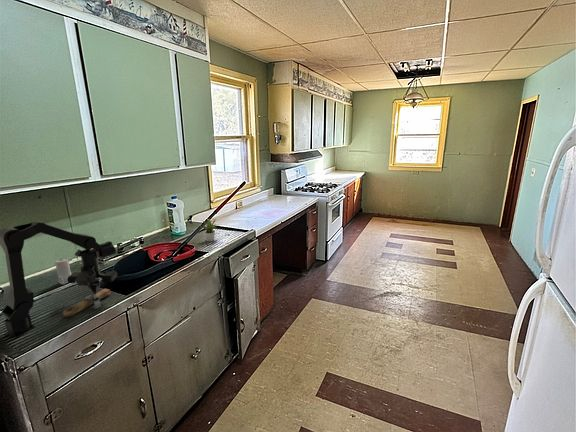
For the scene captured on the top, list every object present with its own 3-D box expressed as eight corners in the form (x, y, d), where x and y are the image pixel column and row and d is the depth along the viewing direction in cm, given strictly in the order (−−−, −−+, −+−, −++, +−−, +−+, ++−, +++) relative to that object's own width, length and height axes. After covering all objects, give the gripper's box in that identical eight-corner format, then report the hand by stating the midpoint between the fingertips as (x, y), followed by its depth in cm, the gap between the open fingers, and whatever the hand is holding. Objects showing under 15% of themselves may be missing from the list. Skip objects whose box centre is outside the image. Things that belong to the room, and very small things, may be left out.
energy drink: (70, 278, 155) (66, 257, 152) (74, 281, 152) (69, 259, 148) (58, 282, 151) (53, 260, 148) (61, 285, 148) (56, 263, 144)
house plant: (212, 234, 221) (210, 213, 217) (225, 238, 213) (224, 216, 209) (196, 240, 210) (194, 218, 205) (210, 244, 202) (208, 221, 198)
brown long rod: (68, 318, 120) (67, 311, 120) (61, 316, 122) (60, 310, 121) (111, 293, 139) (110, 288, 138) (104, 292, 140) (103, 286, 139)
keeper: (95, 309, 127) (93, 301, 126) (87, 304, 131) (85, 297, 130) (101, 306, 129) (99, 298, 128) (92, 302, 133) (91, 294, 132)
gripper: (55, 271, 123) (62, 304, 127) (102, 270, 124) (108, 303, 129) (72, 259, 134) (78, 291, 138) (115, 259, 135) (120, 290, 139)
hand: (95, 294), depth 136 cm, fingers closed
